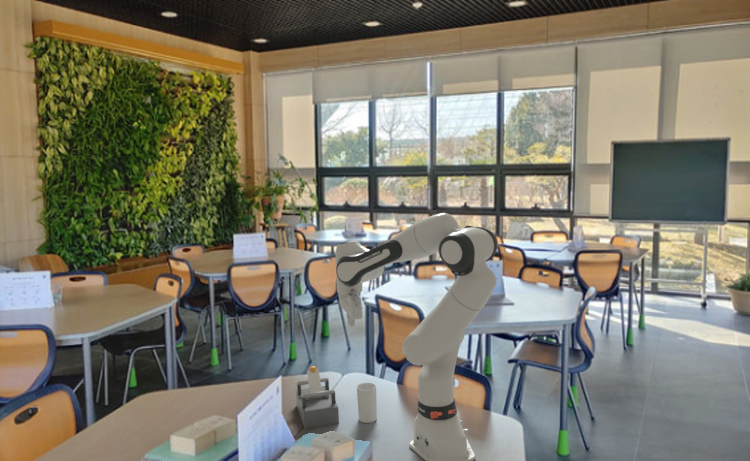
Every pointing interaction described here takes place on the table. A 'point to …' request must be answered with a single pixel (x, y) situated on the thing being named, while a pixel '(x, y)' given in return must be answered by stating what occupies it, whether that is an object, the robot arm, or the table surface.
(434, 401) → the robot arm
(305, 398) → the grey lever base
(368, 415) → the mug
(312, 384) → the lever
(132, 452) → the table surface
